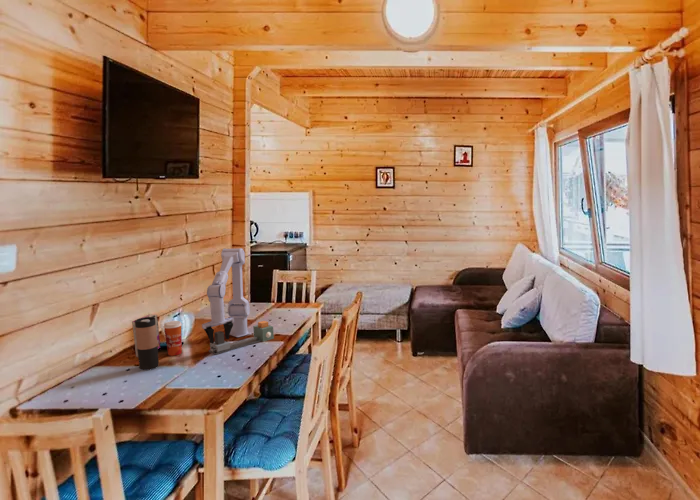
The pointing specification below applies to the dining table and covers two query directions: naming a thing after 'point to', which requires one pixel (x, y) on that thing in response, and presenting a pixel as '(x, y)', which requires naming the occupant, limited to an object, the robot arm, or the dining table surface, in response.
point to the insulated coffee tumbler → (156, 331)
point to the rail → (237, 345)
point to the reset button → (263, 324)
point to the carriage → (220, 342)
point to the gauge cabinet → (264, 333)
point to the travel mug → (147, 343)
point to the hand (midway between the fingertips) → (219, 340)
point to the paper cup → (173, 337)
